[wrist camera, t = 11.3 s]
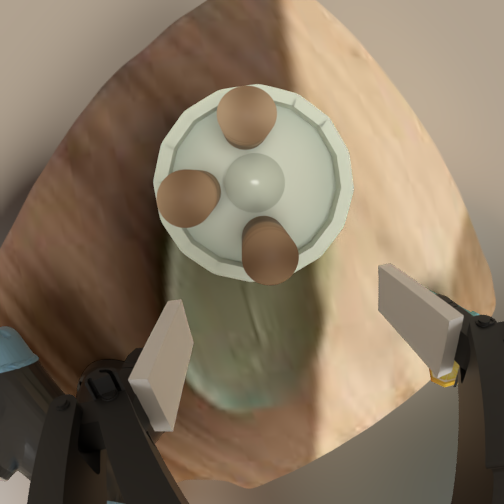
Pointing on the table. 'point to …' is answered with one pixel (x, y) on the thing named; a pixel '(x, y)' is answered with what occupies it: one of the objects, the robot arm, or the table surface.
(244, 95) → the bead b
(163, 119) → the table surface
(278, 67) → the table surface
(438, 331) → the robot arm
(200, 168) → the tray
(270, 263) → the brown stubby piece
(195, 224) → the brown rounded cylinder
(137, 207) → the table surface
